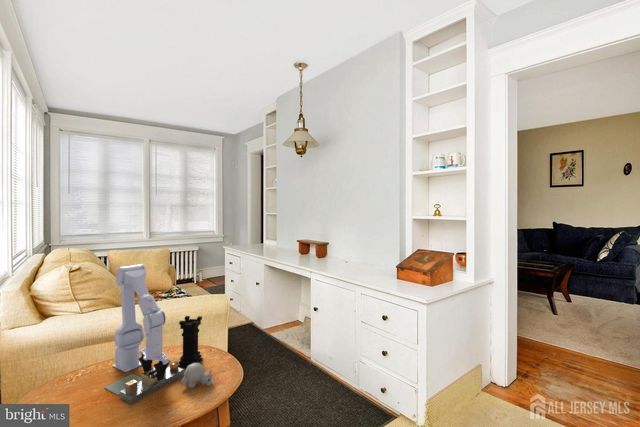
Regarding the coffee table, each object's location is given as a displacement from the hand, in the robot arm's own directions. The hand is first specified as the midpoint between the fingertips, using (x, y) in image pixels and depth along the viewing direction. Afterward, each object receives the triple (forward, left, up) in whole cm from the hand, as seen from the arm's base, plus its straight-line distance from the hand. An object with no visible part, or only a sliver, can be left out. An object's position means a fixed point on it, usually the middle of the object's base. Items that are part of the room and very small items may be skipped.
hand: (154, 376), depth 128 cm
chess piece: (-2, +19, -4) cm, 19 cm away
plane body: (0, 0, -4) cm, 4 cm away
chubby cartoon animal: (+14, +9, -4) cm, 17 cm away
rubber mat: (-10, -5, -4) cm, 12 cm away
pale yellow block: (0, 0, -1) cm, 1 cm away
